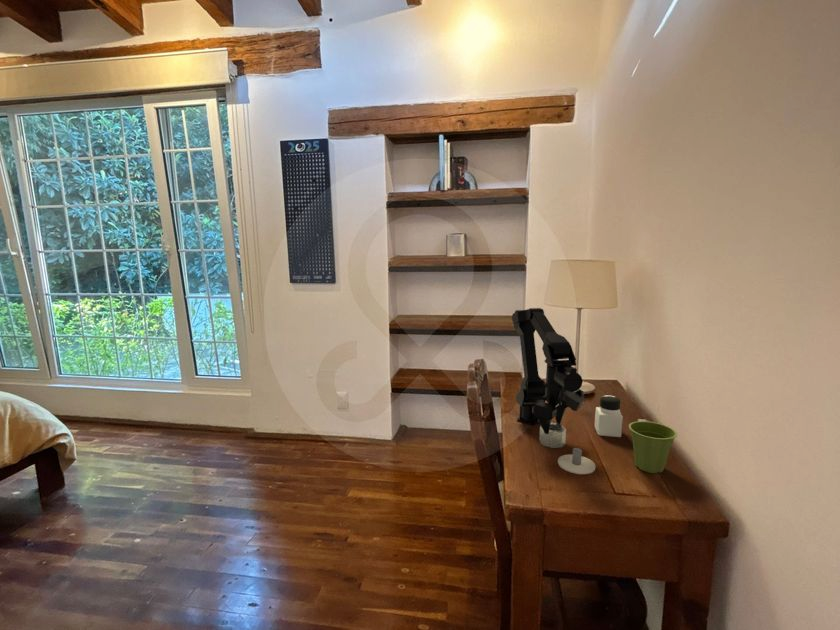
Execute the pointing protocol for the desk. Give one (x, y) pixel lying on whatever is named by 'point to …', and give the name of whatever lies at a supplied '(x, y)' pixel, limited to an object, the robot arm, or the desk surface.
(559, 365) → the robot arm
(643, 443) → the plant pot
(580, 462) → the hub post
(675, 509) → the desk surface
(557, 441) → the ring
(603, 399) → the medicine bottle
